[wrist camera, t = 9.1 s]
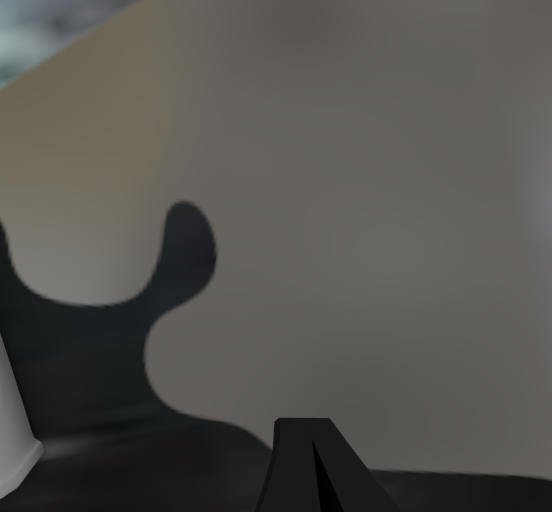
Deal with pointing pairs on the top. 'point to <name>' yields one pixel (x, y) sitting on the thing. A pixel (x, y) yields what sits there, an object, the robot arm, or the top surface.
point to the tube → (14, 432)
